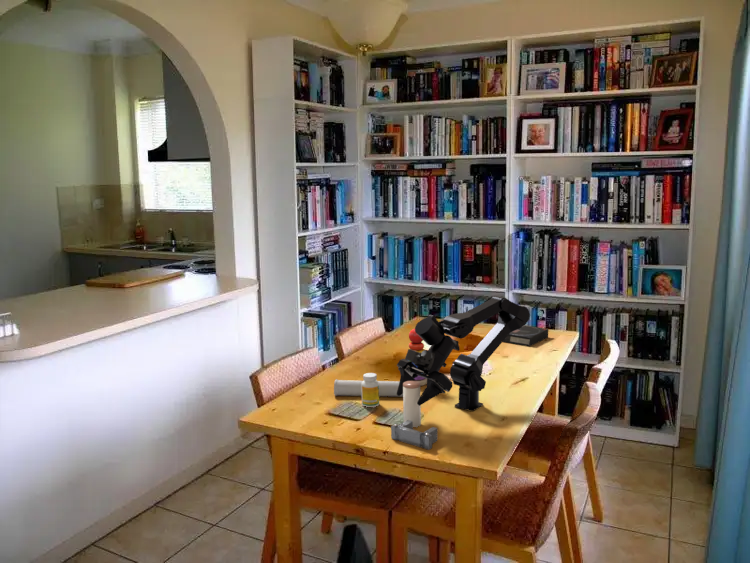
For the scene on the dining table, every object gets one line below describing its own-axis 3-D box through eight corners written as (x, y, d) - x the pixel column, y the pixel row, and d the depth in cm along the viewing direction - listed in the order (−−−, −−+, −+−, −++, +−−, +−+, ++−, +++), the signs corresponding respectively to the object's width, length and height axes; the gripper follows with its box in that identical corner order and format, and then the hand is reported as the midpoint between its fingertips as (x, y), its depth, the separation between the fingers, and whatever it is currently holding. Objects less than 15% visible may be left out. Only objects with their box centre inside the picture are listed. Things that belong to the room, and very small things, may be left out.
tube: (414, 380, 209) (336, 379, 211) (413, 381, 204) (334, 379, 206) (413, 397, 208) (336, 395, 211) (413, 398, 203) (333, 396, 205)
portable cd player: (492, 341, 267) (492, 332, 266) (512, 332, 280) (512, 323, 279) (529, 348, 257) (529, 338, 256) (548, 338, 269) (548, 329, 269)
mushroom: (413, 419, 187) (413, 379, 185) (424, 425, 183) (423, 384, 181) (400, 423, 184) (399, 383, 182) (410, 429, 180) (409, 387, 178)
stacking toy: (415, 389, 212) (414, 333, 209) (398, 383, 218) (397, 328, 215) (432, 383, 217) (432, 328, 214) (416, 377, 223) (415, 324, 220)
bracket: (404, 431, 179) (404, 417, 179) (441, 441, 172) (441, 427, 171) (391, 438, 175) (391, 424, 174) (428, 449, 167) (428, 435, 167)
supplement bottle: (360, 402, 201) (359, 372, 199) (376, 400, 202) (376, 371, 201) (364, 409, 196) (363, 378, 194) (381, 407, 197) (380, 376, 196)
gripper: (401, 331, 189) (371, 376, 185) (444, 345, 174) (412, 394, 170) (422, 352, 195) (393, 396, 191) (466, 367, 180) (435, 415, 176)
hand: (407, 399), depth 182 cm, fingers open, 9 cm apart
